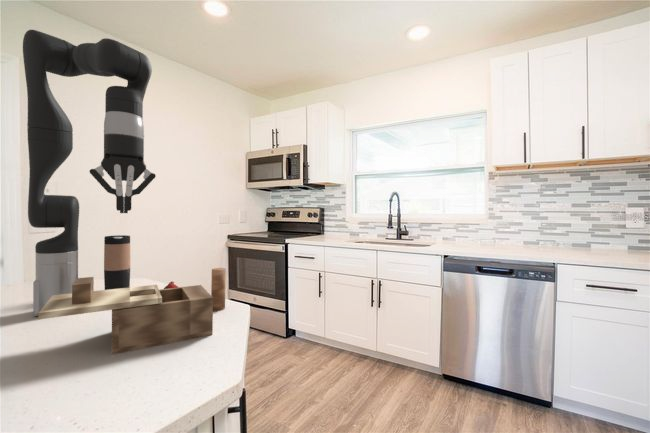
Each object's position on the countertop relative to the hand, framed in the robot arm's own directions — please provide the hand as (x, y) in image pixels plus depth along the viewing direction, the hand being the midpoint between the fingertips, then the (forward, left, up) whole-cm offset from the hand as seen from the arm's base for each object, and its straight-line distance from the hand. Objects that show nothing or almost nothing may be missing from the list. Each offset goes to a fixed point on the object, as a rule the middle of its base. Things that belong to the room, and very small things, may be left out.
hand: (124, 213), depth 70 cm
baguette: (+24, +12, -29) cm, 40 cm away
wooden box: (+8, 0, -29) cm, 30 cm away
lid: (-3, 0, -20) cm, 20 cm away
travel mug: (-2, +46, -29) cm, 55 cm away
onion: (+12, +20, -29) cm, 37 cm away
